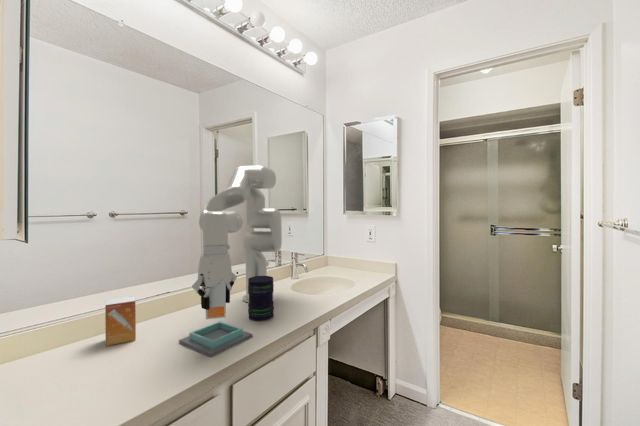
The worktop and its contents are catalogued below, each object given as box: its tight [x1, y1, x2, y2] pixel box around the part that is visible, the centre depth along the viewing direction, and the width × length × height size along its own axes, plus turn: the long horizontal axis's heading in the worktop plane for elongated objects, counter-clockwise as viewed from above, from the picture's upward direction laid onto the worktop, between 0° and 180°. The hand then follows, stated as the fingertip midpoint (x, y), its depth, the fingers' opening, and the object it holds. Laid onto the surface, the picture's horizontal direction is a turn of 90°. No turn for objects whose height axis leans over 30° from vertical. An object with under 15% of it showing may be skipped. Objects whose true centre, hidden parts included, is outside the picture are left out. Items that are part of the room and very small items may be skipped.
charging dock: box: [178, 321, 253, 358], centre depth 97 cm, size 16×16×3 cm
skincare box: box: [205, 280, 227, 320], centre depth 96 cm, size 6×4×12 cm
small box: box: [104, 295, 137, 347], centre depth 97 cm, size 8×6×13 cm
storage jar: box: [247, 275, 275, 322], centre depth 117 cm, size 10×10×15 cm
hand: (216, 305), depth 96 cm, fingers closed on skincare box, 7 cm apart
